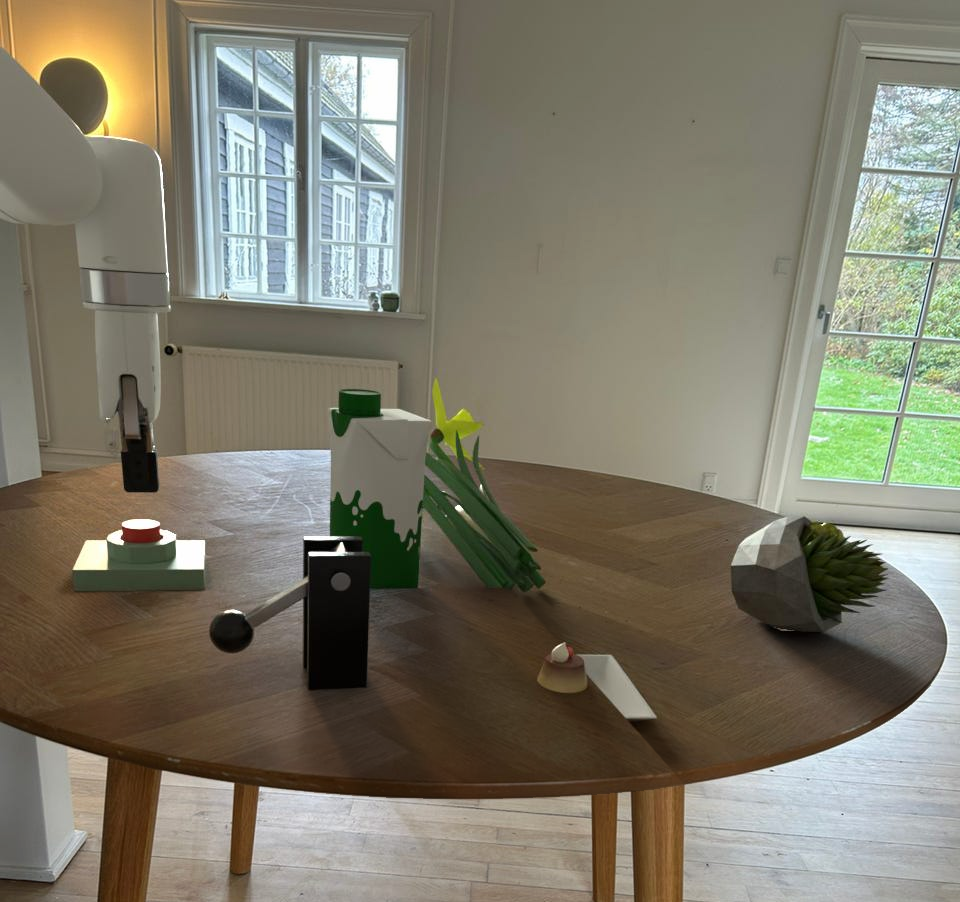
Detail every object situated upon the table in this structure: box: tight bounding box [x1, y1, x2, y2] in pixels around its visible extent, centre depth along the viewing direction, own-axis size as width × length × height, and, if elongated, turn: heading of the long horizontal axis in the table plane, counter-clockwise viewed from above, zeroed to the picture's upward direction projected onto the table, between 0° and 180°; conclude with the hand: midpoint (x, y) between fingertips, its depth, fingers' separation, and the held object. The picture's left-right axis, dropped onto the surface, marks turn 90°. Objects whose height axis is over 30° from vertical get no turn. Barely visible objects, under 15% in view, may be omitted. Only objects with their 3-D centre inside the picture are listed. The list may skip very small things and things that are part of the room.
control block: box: [71, 529, 207, 592], centre depth 90 cm, size 12×10×4 cm
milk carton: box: [327, 388, 432, 590], centre depth 89 cm, size 9×9×20 cm
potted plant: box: [730, 515, 890, 633], centre depth 89 cm, size 12×13×15 cm
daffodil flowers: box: [422, 376, 547, 593], centre depth 105 cm, size 17×15×35 cm
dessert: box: [536, 638, 658, 723], centre depth 71 cm, size 12×12×5 cm
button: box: [121, 518, 161, 543], centre depth 89 cm, size 4×4×2 cm
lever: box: [208, 543, 348, 654], centre depth 65 cm, size 12×3×3 cm
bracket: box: [302, 535, 371, 691], centre depth 67 cm, size 12×9×12 cm
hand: (142, 490), depth 88 cm, fingers closed
